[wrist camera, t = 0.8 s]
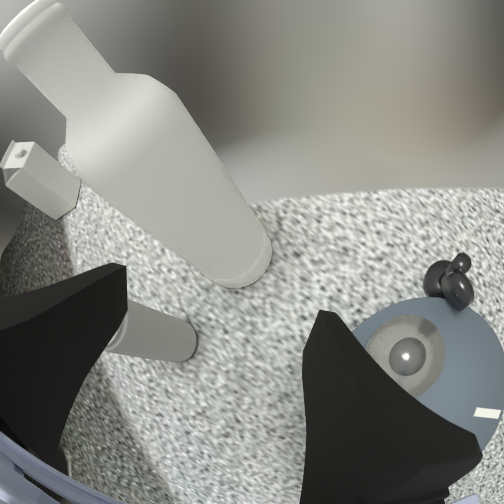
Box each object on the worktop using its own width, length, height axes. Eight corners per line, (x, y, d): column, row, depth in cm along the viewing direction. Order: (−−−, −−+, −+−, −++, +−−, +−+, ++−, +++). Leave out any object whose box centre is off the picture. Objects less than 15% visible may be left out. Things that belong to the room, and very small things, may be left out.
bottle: (264, 214, 33) (102, -39, 7) (282, 275, 29) (51, -31, 3) (202, 237, 34) (8, 43, 9) (212, 298, 31) (-58, 106, 5)
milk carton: (56, 220, 50) (-9, 175, 33) (62, 195, 53) (4, 149, 37) (76, 207, 48) (7, 155, 32) (82, 181, 52) (21, 129, 35)
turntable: (520, 415, 13) (546, 419, 9) (359, 518, 15) (358, 544, 11) (449, 265, 22) (466, 243, 18) (285, 364, 24) (270, 362, 20)
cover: (447, 368, 18) (461, 367, 15) (382, 410, 18) (387, 416, 16) (413, 306, 21) (423, 296, 18) (350, 345, 22) (350, 341, 19)
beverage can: (203, 356, 28) (125, 341, 18) (167, 367, 29) (85, 355, 19) (194, 315, 31) (119, 281, 20) (159, 327, 32) (81, 300, 21)
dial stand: (473, 298, 21) (502, 276, 16) (442, 322, 22) (468, 307, 16) (446, 255, 24) (467, 223, 18) (415, 277, 24) (432, 249, 19)
